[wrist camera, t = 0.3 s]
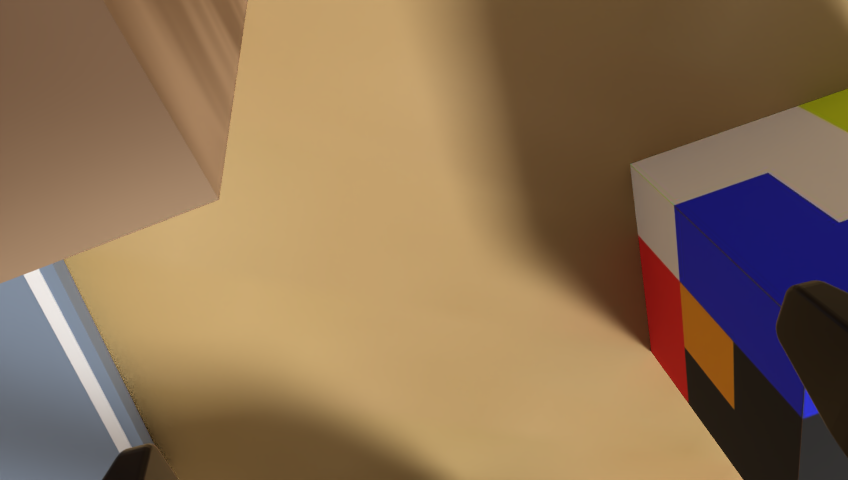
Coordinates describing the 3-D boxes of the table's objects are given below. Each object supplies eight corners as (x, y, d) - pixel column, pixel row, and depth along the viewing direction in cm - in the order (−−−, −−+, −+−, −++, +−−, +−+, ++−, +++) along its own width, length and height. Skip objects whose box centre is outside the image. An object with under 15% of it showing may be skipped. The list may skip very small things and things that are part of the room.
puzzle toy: (629, 163, 25) (808, 333, 17) (880, 76, 25) (1183, 201, 17) (650, 350, 30) (793, 549, 22) (856, 278, 31) (1075, 449, 22)
